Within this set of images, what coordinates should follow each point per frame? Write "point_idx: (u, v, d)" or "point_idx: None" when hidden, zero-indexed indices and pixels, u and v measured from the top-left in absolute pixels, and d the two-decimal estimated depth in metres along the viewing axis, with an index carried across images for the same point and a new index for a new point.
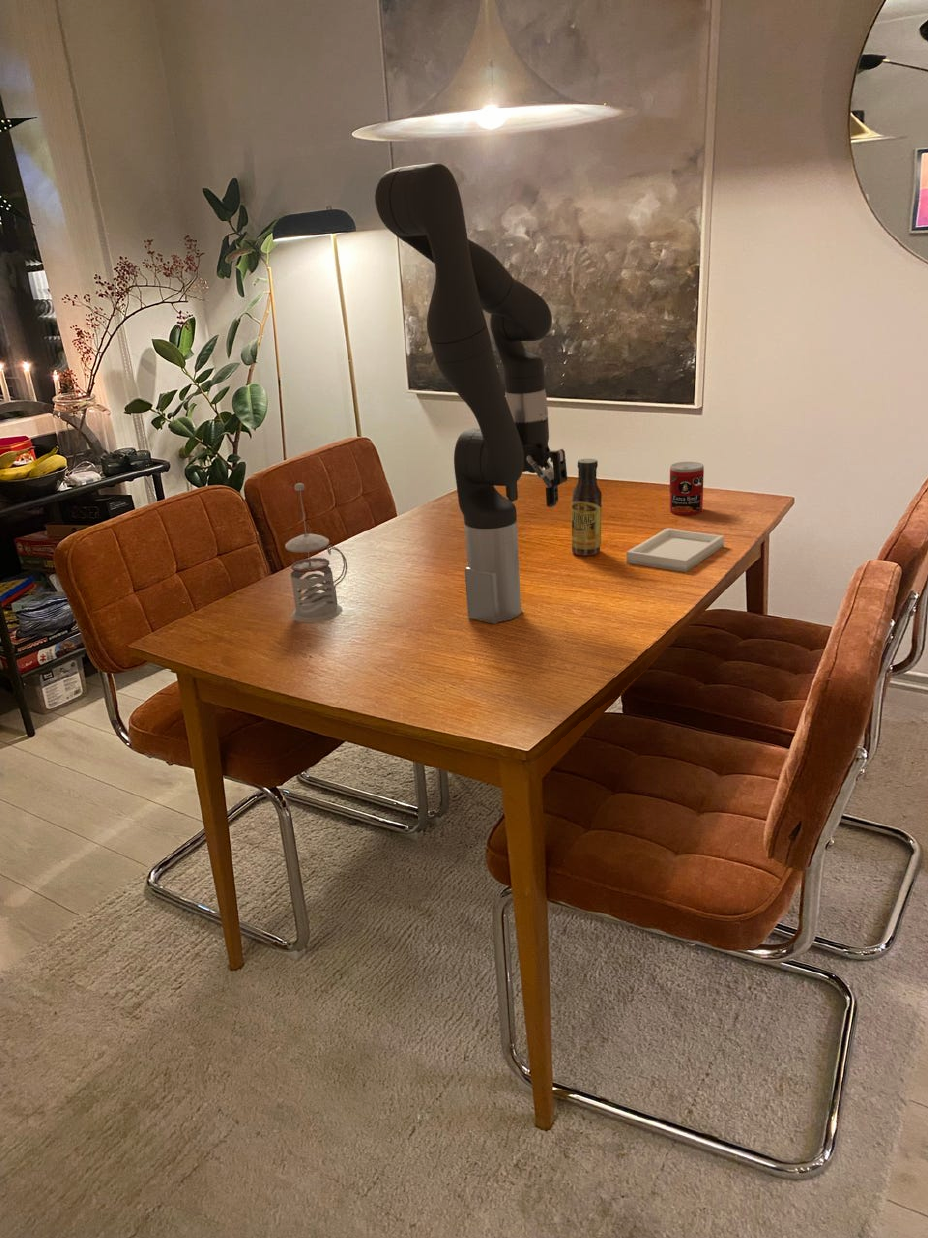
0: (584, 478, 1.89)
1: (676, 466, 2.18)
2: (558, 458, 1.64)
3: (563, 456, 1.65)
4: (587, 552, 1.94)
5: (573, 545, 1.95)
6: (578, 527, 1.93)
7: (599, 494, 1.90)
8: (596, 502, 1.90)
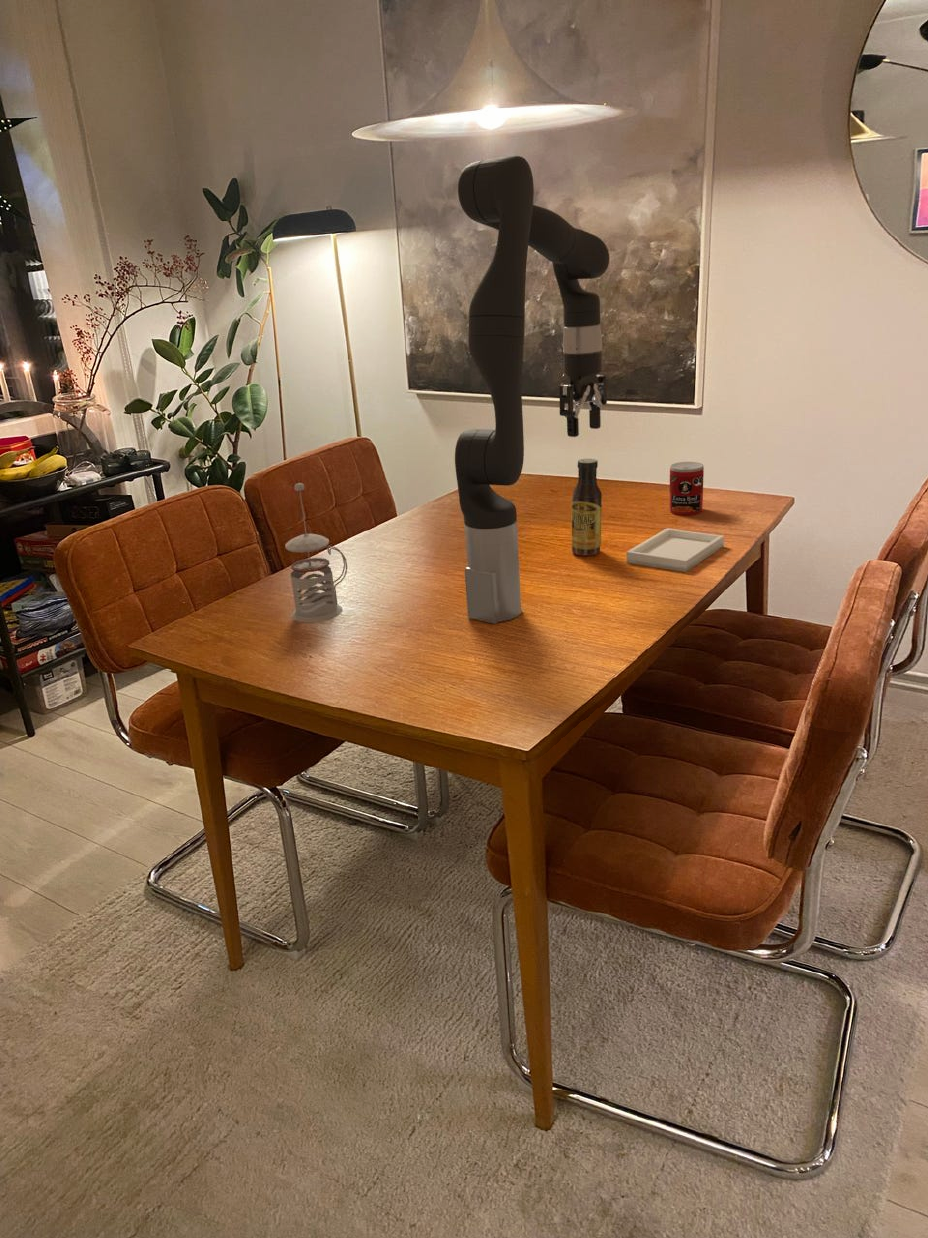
0: (584, 478, 1.89)
1: (676, 466, 2.18)
2: None
3: None
4: (587, 552, 1.94)
5: (573, 545, 1.95)
6: (578, 527, 1.93)
7: (599, 494, 1.90)
8: (596, 502, 1.90)
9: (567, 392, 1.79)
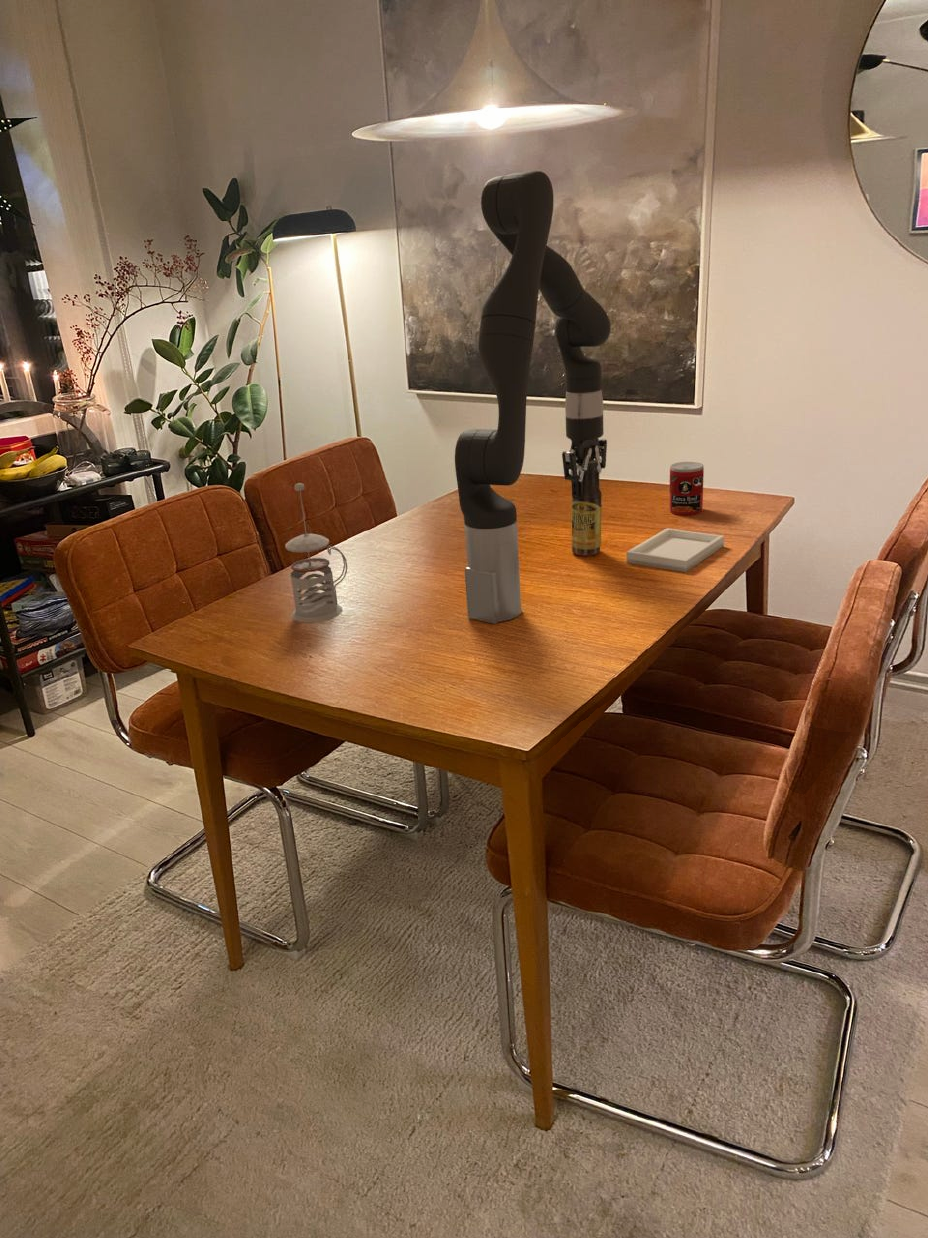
0: (584, 478, 1.89)
1: (676, 466, 2.18)
2: None
3: None
4: (587, 552, 1.94)
5: (573, 545, 1.95)
6: (578, 528, 1.93)
7: (599, 494, 1.90)
8: (596, 502, 1.90)
9: (570, 459, 1.84)
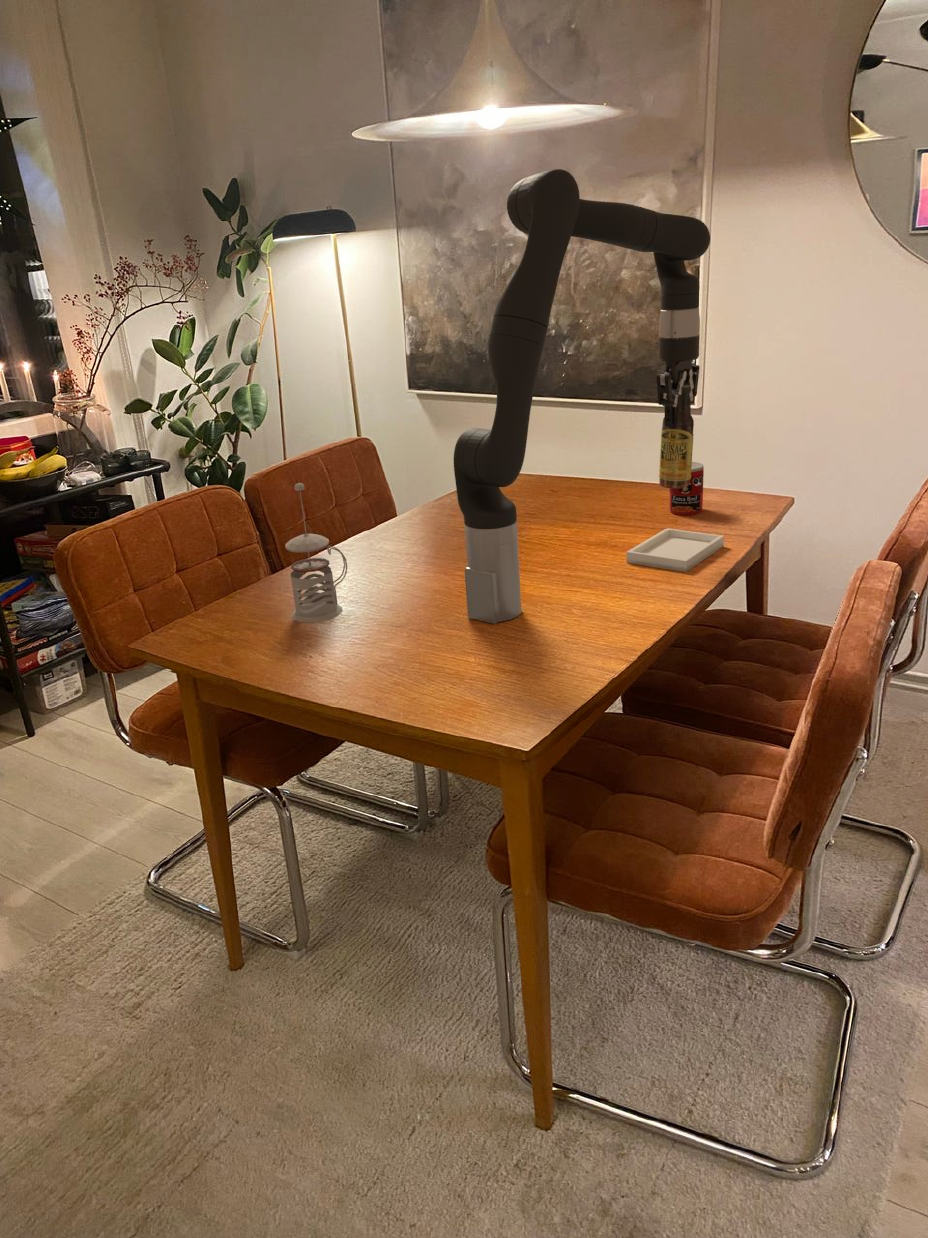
0: None
1: None
2: None
3: None
4: (677, 484, 1.83)
5: (662, 477, 1.85)
6: (668, 458, 1.82)
7: (692, 421, 1.80)
8: (688, 430, 1.80)
9: (665, 382, 1.73)
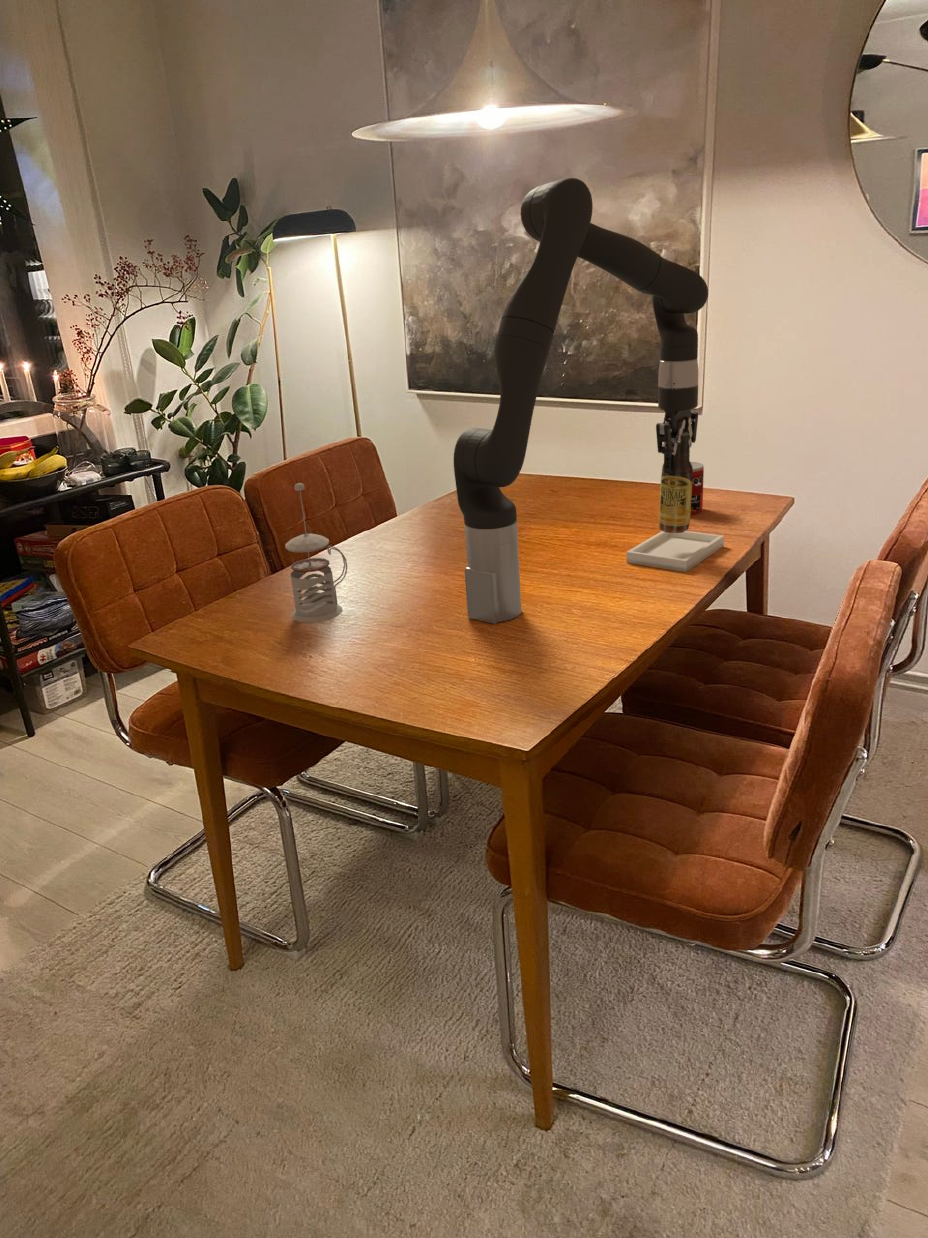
0: None
1: None
2: None
3: None
4: (676, 529, 1.87)
5: (661, 522, 1.88)
6: (668, 503, 1.85)
7: (691, 468, 1.83)
8: (687, 477, 1.83)
9: (664, 431, 1.77)
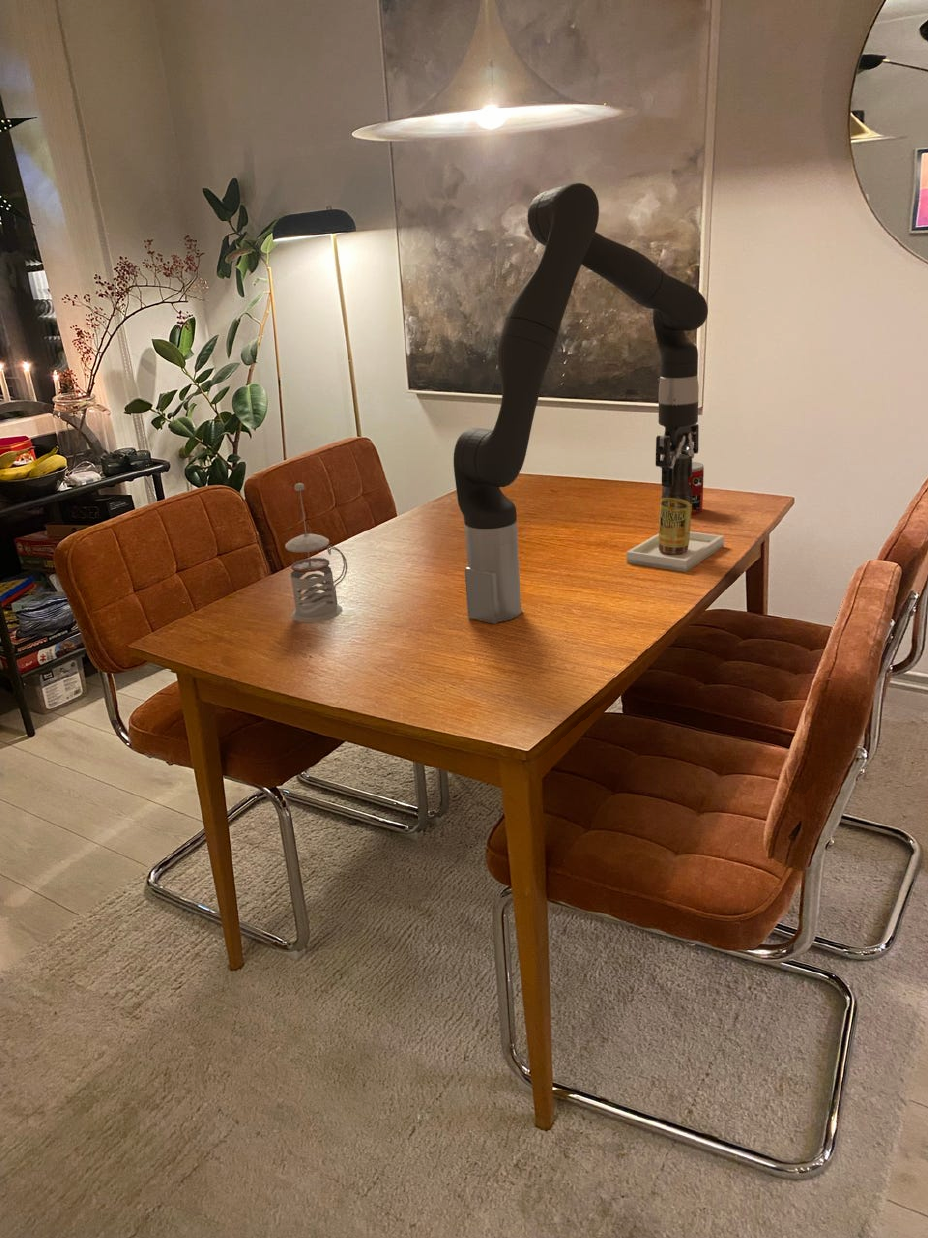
0: (675, 473, 1.84)
1: None
2: None
3: None
4: (675, 550, 1.89)
5: (661, 543, 1.90)
6: (667, 525, 1.87)
7: (690, 491, 1.85)
8: (687, 499, 1.85)
9: (664, 443, 1.78)
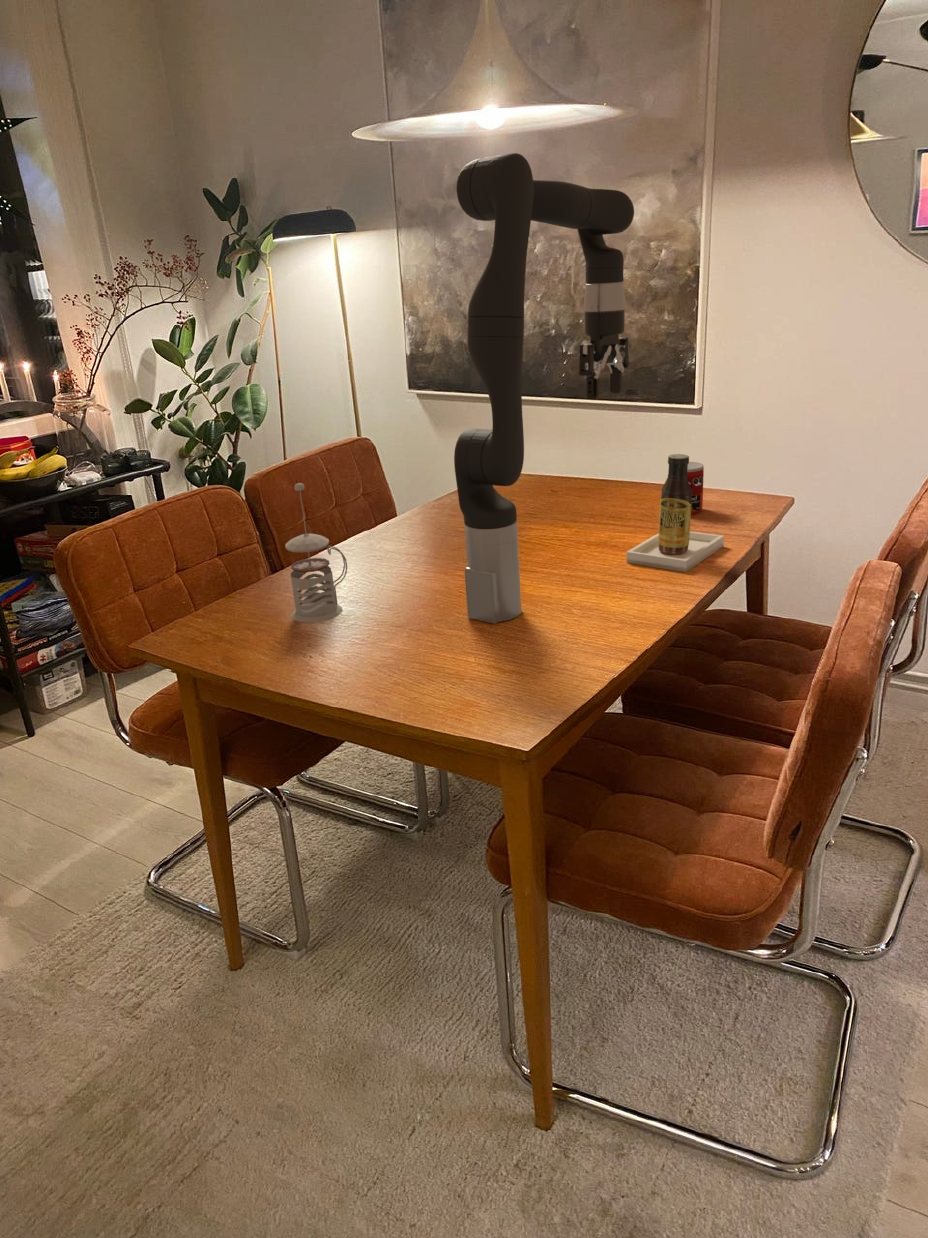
0: (675, 474, 1.84)
1: None
2: None
3: None
4: (675, 550, 1.89)
5: (661, 543, 1.90)
6: (667, 525, 1.87)
7: (690, 491, 1.85)
8: (686, 499, 1.85)
9: (587, 351, 1.73)
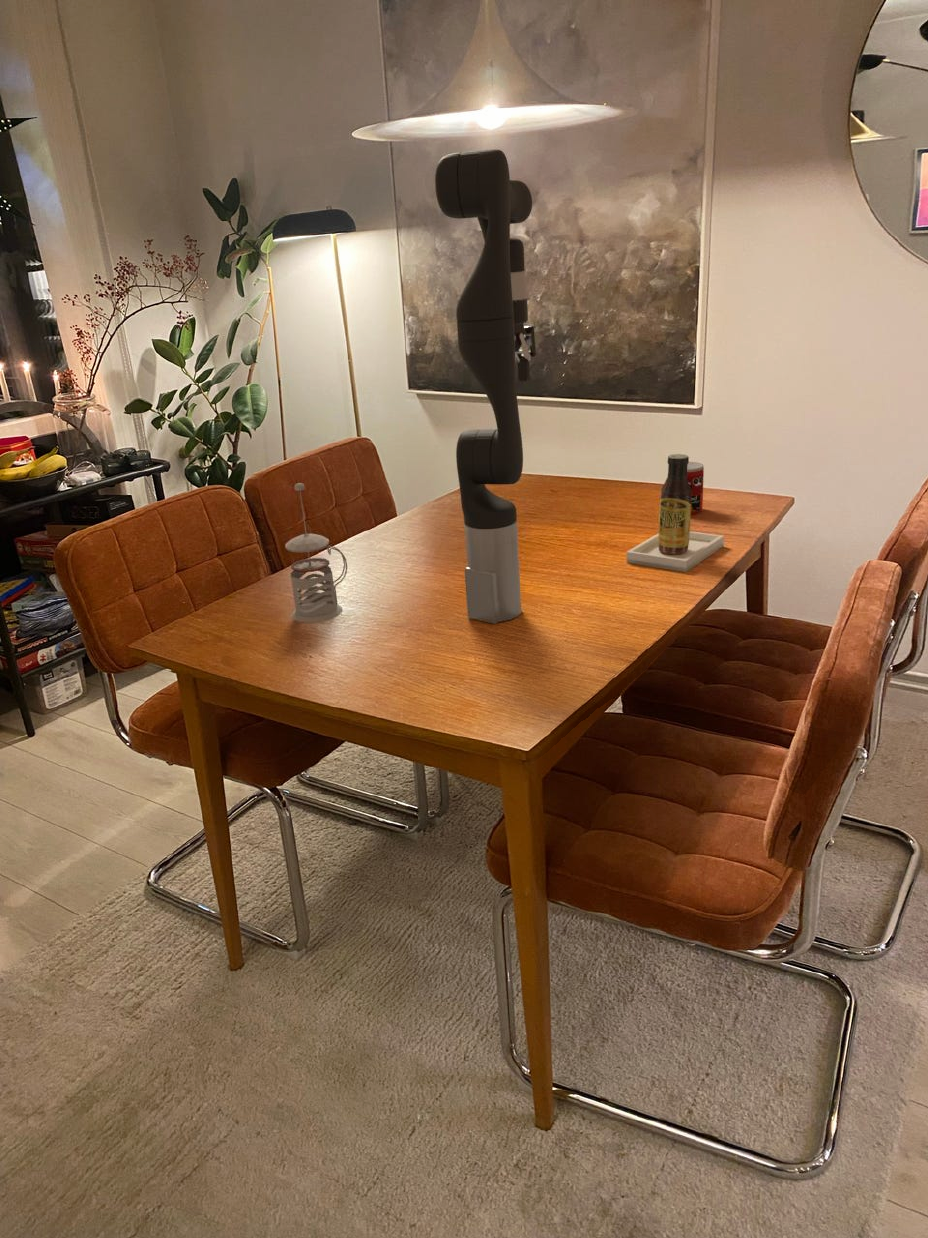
0: (674, 474, 1.84)
1: None
2: None
3: None
4: (675, 550, 1.89)
5: (661, 543, 1.90)
6: (667, 525, 1.87)
7: (690, 491, 1.85)
8: (686, 499, 1.85)
9: None
